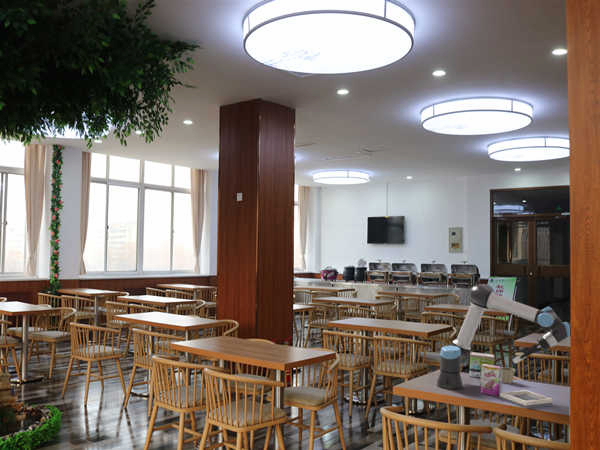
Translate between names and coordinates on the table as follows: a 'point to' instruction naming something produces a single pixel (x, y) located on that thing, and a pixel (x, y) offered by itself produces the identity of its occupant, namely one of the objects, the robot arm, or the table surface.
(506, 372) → the flower pot
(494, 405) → the table surface
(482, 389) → the candy bar box
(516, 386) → the table surface
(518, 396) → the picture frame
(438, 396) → the table surface
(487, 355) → the tea box
